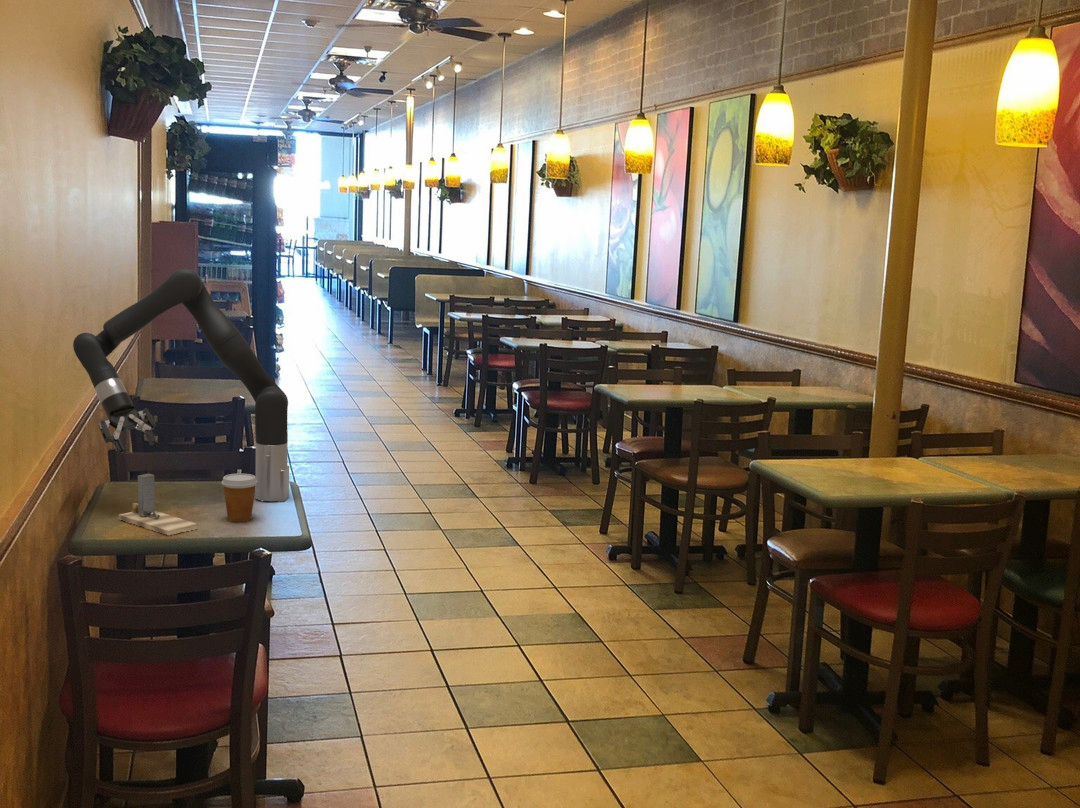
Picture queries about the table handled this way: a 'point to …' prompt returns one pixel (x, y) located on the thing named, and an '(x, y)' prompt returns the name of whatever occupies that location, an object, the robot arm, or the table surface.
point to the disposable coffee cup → (239, 496)
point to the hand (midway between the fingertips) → (138, 448)
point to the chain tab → (146, 496)
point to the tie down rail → (158, 522)
